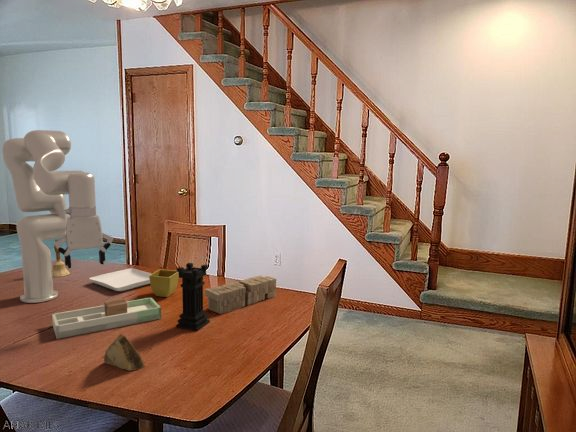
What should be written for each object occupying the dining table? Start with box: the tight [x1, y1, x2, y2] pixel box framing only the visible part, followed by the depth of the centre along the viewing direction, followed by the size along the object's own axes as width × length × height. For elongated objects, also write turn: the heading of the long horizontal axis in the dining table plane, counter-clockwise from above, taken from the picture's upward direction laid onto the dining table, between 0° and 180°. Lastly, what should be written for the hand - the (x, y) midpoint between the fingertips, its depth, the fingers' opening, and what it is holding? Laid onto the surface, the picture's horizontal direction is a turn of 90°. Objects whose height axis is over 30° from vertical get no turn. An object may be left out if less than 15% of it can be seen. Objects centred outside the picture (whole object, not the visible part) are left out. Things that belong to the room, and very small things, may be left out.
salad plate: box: [88, 267, 152, 292], centre depth 187 cm, size 21×21×3 cm
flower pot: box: [149, 269, 179, 298], centre depth 174 cm, size 9×9×9 cm
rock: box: [103, 333, 146, 371], centre depth 120 cm, size 11×9×10 cm
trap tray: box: [51, 296, 162, 340], centre depth 147 cm, size 12×32×4 cm, turn 123°
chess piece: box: [175, 262, 211, 332], centre depth 145 cm, size 8×8×20 cm
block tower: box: [204, 275, 277, 315], centre depth 168 cm, size 8×8×29 cm
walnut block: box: [103, 297, 127, 316], centre depth 148 cm, size 6×6×4 cm
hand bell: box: [52, 239, 71, 278], centre depth 196 cm, size 8×8×16 cm
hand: (85, 265), depth 141 cm, fingers open, 9 cm apart
